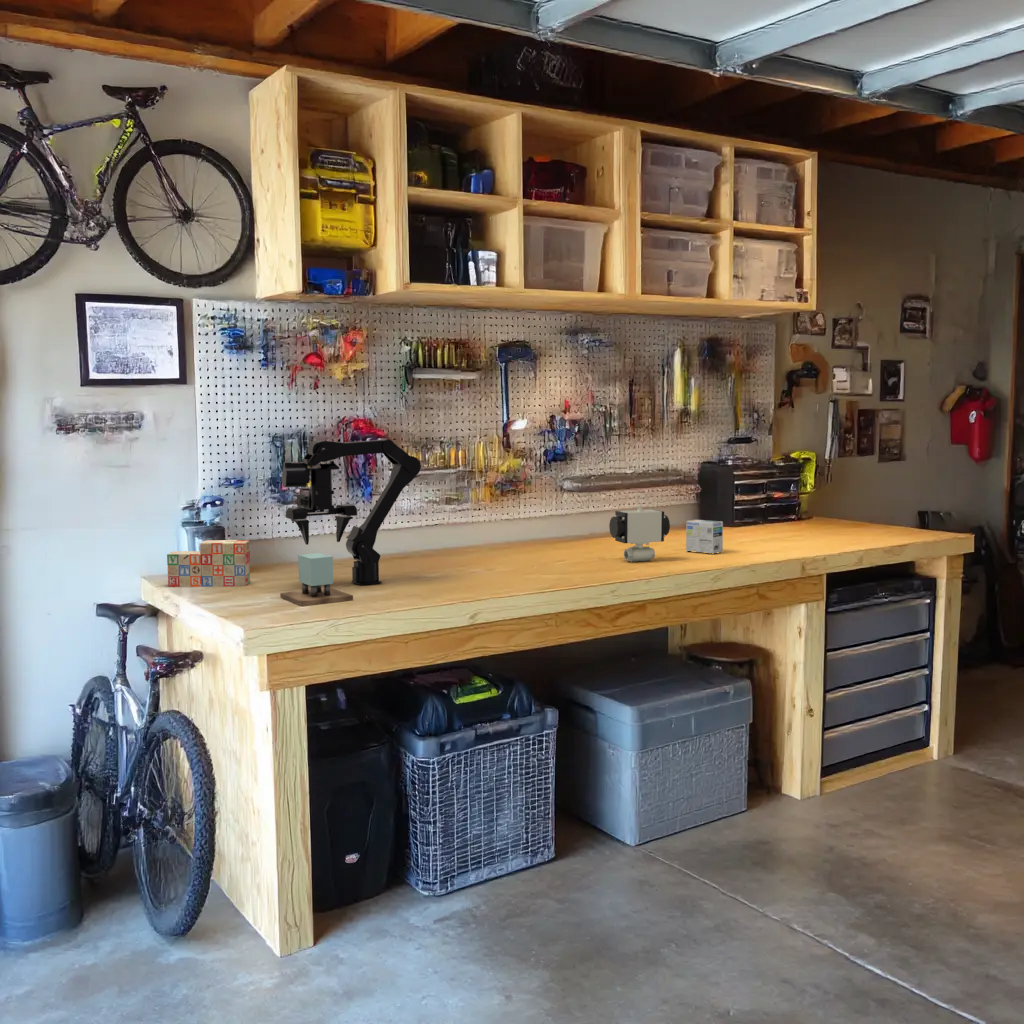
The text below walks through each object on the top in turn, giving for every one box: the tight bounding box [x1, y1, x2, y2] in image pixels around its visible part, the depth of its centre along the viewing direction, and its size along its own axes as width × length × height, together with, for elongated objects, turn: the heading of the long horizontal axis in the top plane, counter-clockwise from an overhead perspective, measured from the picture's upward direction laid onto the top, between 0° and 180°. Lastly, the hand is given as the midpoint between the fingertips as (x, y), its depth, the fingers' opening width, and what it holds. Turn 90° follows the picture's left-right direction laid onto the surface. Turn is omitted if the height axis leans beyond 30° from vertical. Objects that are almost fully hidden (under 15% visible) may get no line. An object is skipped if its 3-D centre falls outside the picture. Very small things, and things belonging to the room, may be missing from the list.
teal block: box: [297, 552, 334, 587], centre depth 260 cm, size 6×8×7 cm
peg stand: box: [279, 583, 354, 607], centre depth 260 cm, size 14×14×4 cm
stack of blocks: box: [166, 539, 251, 588], centre depth 282 cm, size 21×6×12 cm, turn 93°
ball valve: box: [608, 505, 671, 563], centre depth 322 cm, size 18×8×18 cm, turn 108°
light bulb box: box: [685, 519, 724, 553], centre depth 341 cm, size 11×7×11 cm, turn 49°
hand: (322, 543), depth 278 cm, fingers open, 9 cm apart
